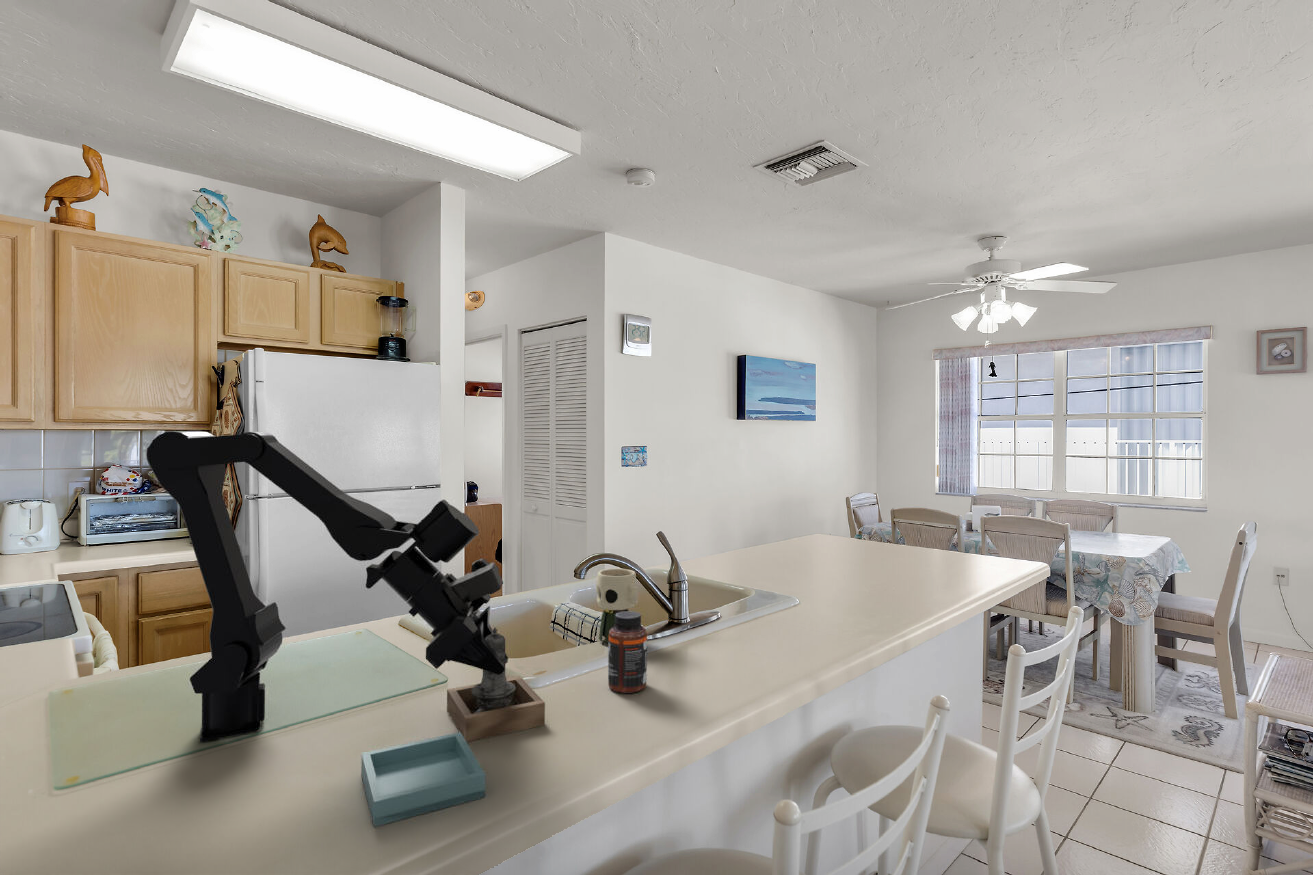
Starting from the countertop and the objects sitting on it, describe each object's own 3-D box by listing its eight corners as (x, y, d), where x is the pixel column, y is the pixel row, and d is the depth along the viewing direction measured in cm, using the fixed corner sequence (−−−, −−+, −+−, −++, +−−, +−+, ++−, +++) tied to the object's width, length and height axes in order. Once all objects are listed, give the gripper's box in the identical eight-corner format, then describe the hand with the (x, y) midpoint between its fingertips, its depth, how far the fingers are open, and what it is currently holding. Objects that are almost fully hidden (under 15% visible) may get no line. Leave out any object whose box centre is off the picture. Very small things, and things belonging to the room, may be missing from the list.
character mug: (582, 638, 124) (583, 570, 124) (610, 630, 129) (611, 564, 129) (621, 653, 117) (622, 580, 116) (650, 644, 122) (651, 574, 122)
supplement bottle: (654, 687, 102) (655, 614, 102) (627, 698, 98) (628, 622, 97) (627, 676, 106) (628, 606, 106) (599, 686, 102) (601, 613, 101)
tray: (373, 826, 66) (374, 801, 65) (361, 774, 75) (361, 752, 75) (485, 796, 71) (485, 773, 71) (460, 752, 81) (460, 731, 81)
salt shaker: (504, 726, 87) (506, 635, 87) (462, 721, 88) (464, 632, 88) (521, 707, 93) (523, 623, 92) (483, 703, 94) (484, 619, 94)
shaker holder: (465, 742, 83) (465, 718, 83) (446, 710, 92) (447, 689, 92) (544, 724, 88) (544, 702, 88) (519, 696, 98) (519, 676, 97)
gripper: (455, 558, 80) (544, 647, 82) (477, 533, 99) (550, 606, 100) (386, 623, 79) (478, 712, 81) (421, 585, 98) (495, 658, 99)
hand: (504, 666), depth 90 cm, fingers closed on salt shaker, 4 cm apart
